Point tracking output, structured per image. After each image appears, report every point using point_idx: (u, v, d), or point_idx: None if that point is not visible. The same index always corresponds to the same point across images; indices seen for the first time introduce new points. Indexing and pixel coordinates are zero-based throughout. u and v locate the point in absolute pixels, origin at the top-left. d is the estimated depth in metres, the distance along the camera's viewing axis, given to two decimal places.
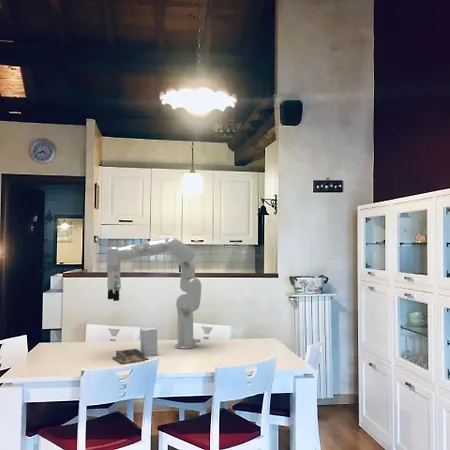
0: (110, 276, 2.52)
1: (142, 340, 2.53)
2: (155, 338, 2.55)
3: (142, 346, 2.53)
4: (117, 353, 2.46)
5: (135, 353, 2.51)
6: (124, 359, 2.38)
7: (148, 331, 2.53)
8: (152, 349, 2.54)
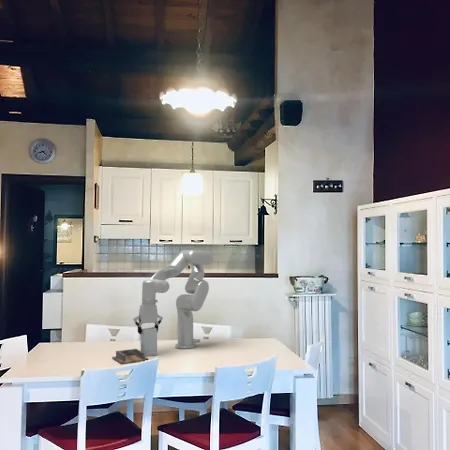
0: (153, 309, 2.55)
1: (142, 340, 2.53)
2: (155, 338, 2.55)
3: (142, 346, 2.53)
4: (117, 353, 2.46)
5: (135, 353, 2.51)
6: (124, 359, 2.38)
7: (148, 331, 2.53)
8: (152, 349, 2.54)
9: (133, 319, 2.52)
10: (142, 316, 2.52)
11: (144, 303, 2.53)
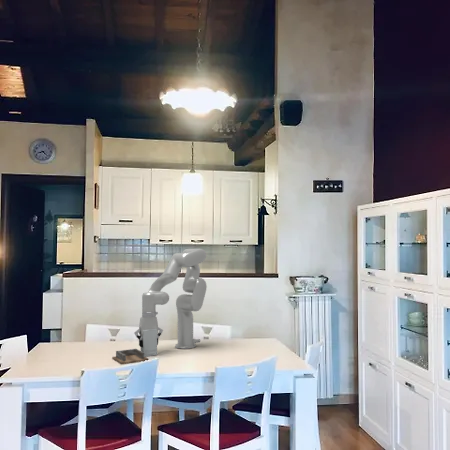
0: (153, 321, 2.55)
1: None
2: (155, 338, 2.55)
3: None
4: (117, 353, 2.46)
5: (135, 353, 2.51)
6: (124, 359, 2.38)
7: (148, 331, 2.53)
8: (152, 349, 2.53)
9: (134, 333, 2.52)
10: (142, 329, 2.52)
11: (144, 316, 2.53)
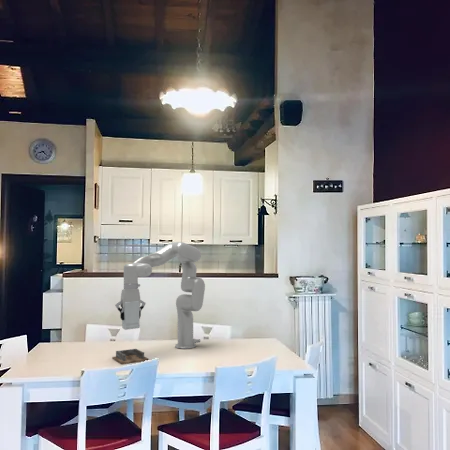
0: (135, 294, 2.46)
1: None
2: (137, 311, 2.45)
3: None
4: (117, 353, 2.46)
5: (135, 353, 2.51)
6: (124, 359, 2.38)
7: (130, 303, 2.43)
8: (134, 322, 2.44)
9: (115, 305, 2.42)
10: (124, 301, 2.43)
11: (126, 287, 2.44)
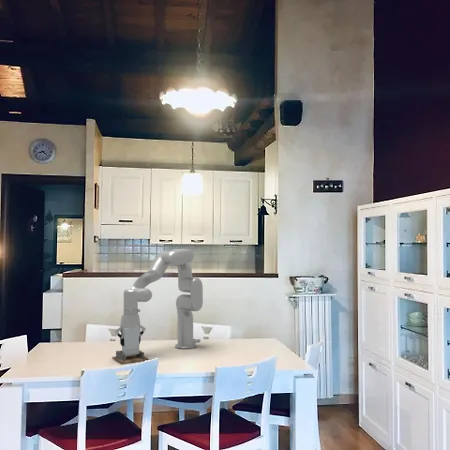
0: (135, 319, 2.45)
1: None
2: (137, 336, 2.45)
3: None
4: (117, 353, 2.46)
5: None
6: (124, 359, 2.38)
7: (129, 329, 2.43)
8: (134, 348, 2.43)
9: (115, 331, 2.42)
10: (124, 327, 2.42)
11: (126, 313, 2.43)
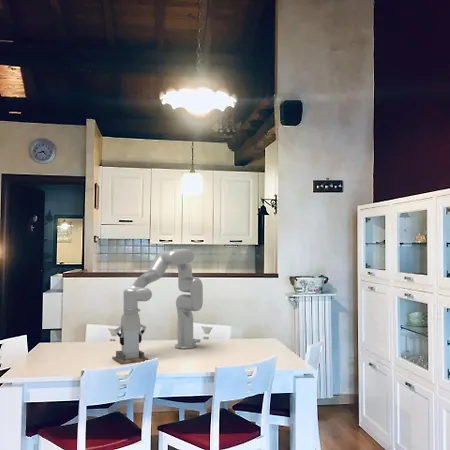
0: (135, 319, 2.45)
1: None
2: (137, 340, 2.44)
3: (123, 348, 2.43)
4: (117, 353, 2.46)
5: None
6: (124, 359, 2.38)
7: (129, 333, 2.43)
8: (133, 351, 2.43)
9: None
10: (124, 327, 2.42)
11: (126, 313, 2.43)
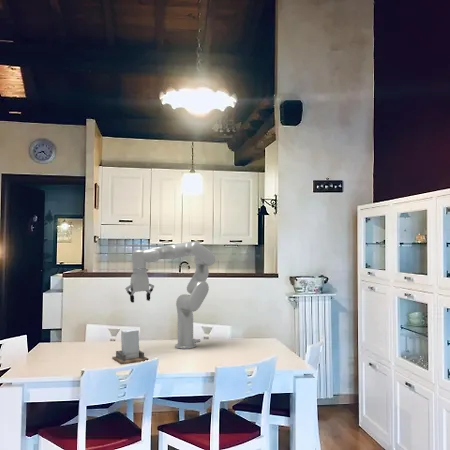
0: (144, 278, 2.61)
1: (123, 342, 2.43)
2: (137, 340, 2.44)
3: (123, 348, 2.43)
4: (117, 353, 2.46)
5: None
6: (124, 359, 2.38)
7: (129, 333, 2.43)
8: (133, 351, 2.43)
9: (125, 288, 2.57)
10: (134, 285, 2.57)
11: (135, 272, 2.58)
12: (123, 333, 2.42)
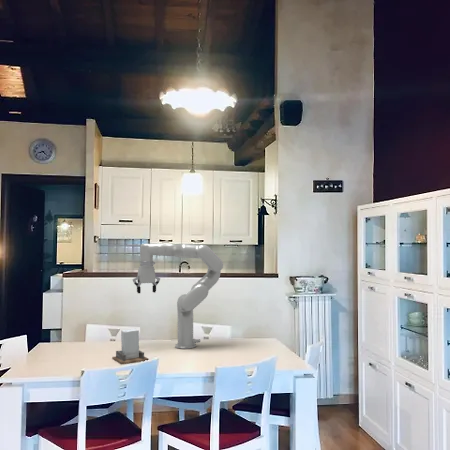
0: (151, 270, 2.73)
1: (123, 342, 2.43)
2: (137, 340, 2.44)
3: (123, 348, 2.43)
4: (117, 353, 2.46)
5: None
6: (124, 359, 2.38)
7: (129, 333, 2.43)
8: (133, 351, 2.43)
9: None
10: (141, 277, 2.70)
11: (142, 265, 2.71)
12: (123, 333, 2.42)
